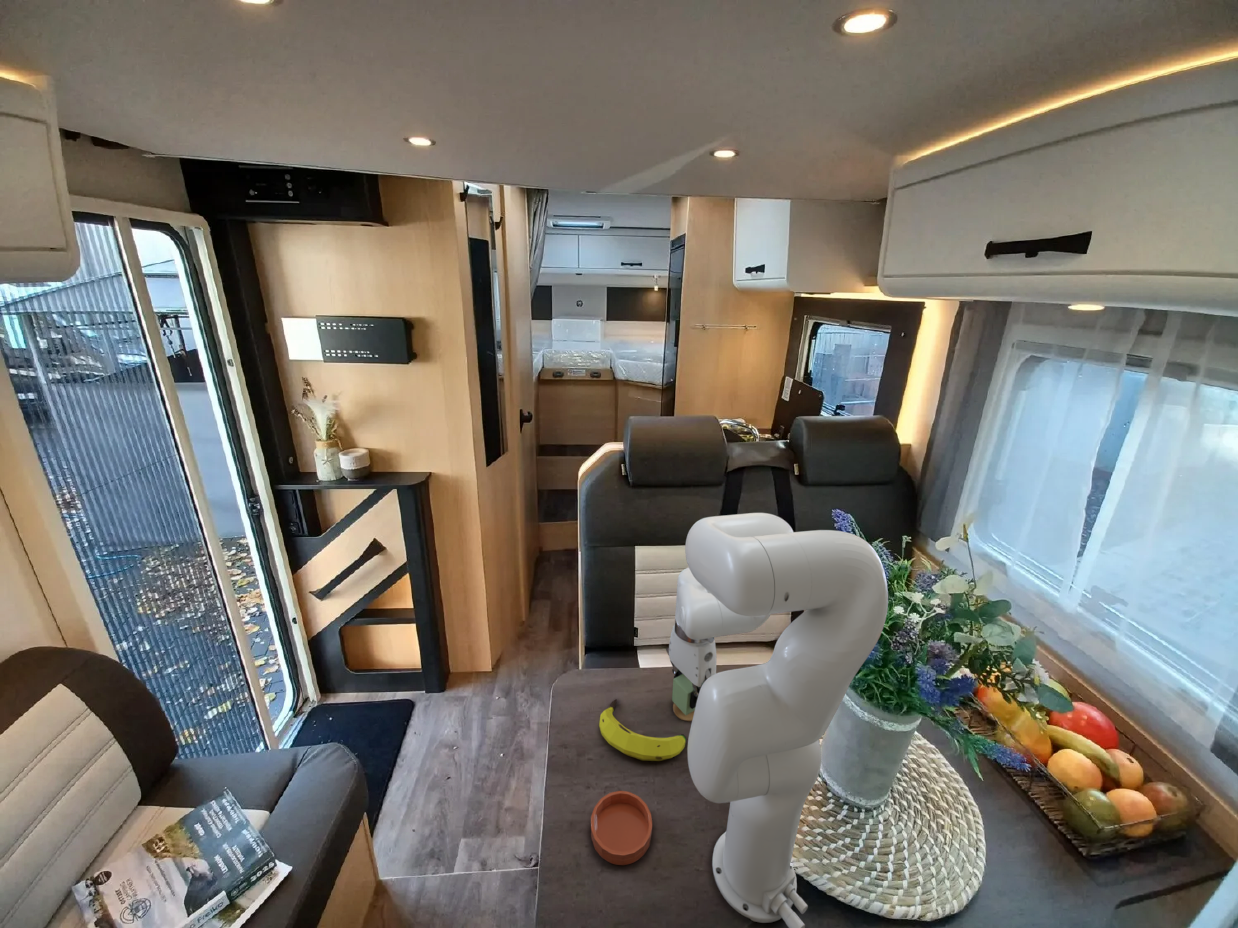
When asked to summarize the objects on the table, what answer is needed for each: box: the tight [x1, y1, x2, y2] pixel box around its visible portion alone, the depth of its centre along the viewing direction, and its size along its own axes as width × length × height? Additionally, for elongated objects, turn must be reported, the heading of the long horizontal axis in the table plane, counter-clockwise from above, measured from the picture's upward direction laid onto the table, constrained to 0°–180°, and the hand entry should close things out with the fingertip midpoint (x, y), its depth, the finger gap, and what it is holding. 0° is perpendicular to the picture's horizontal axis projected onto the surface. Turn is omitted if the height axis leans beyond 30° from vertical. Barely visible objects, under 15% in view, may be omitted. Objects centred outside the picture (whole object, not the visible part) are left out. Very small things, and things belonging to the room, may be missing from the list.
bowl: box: [590, 790, 653, 866], centre depth 80 cm, size 10×10×3 cm
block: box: [671, 674, 695, 715], centre depth 102 cm, size 5×5×6 cm
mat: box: [672, 702, 695, 722], centre depth 103 cm, size 6×6×1 cm
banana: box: [598, 699, 687, 762], centre depth 97 cm, size 5×17×15 cm
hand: (687, 695), depth 102 cm, fingers closed on block, 4 cm apart
